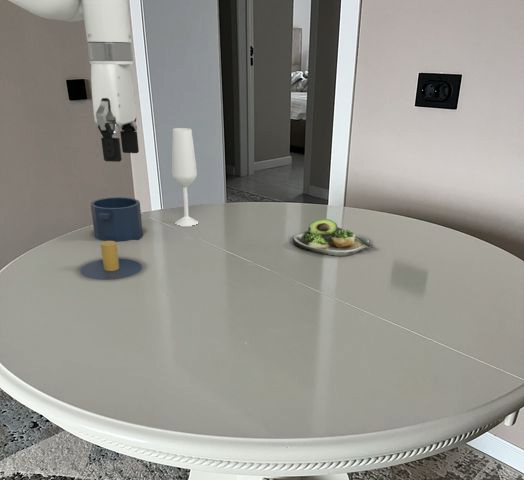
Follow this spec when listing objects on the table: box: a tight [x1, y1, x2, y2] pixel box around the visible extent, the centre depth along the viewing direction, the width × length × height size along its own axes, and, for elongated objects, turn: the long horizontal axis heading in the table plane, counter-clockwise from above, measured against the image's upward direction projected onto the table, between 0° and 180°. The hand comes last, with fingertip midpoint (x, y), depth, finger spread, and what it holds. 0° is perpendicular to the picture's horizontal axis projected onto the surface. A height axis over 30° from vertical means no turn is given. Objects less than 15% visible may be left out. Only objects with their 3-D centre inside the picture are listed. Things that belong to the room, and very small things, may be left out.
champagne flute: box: [171, 127, 199, 227], centre depth 140 cm, size 7×7×24 cm
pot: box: [90, 196, 144, 243], centre depth 132 cm, size 12×17×8 cm
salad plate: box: [292, 218, 376, 257], centre depth 130 cm, size 19×18×5 cm
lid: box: [79, 241, 143, 281], centre depth 110 cm, size 13×13×7 cm
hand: (122, 156), depth 102 cm, fingers open, 9 cm apart
